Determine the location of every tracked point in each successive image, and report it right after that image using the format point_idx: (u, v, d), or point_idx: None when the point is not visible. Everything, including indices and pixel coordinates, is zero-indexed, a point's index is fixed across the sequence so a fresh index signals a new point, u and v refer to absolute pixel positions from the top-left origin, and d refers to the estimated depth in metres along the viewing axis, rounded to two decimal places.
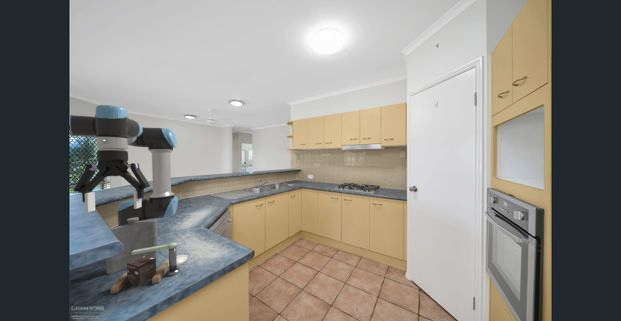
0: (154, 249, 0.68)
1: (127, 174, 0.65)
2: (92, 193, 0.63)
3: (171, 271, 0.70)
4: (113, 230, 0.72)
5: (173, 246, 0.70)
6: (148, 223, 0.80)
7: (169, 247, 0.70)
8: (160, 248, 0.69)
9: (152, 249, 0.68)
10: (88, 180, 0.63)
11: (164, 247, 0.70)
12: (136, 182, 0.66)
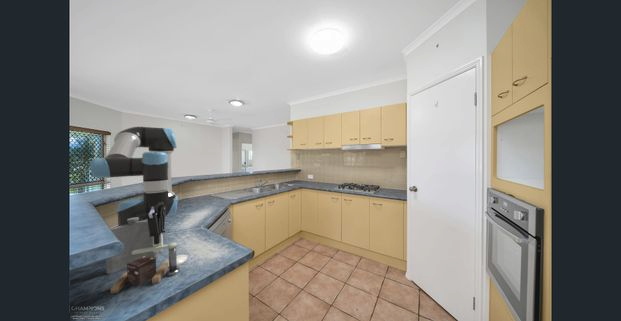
0: (154, 249, 0.68)
1: None
2: None
3: (171, 271, 0.70)
4: (113, 230, 0.72)
5: (173, 246, 0.70)
6: None
7: (169, 247, 0.70)
8: (160, 248, 0.69)
9: (152, 249, 0.68)
10: None
11: (164, 247, 0.70)
12: None
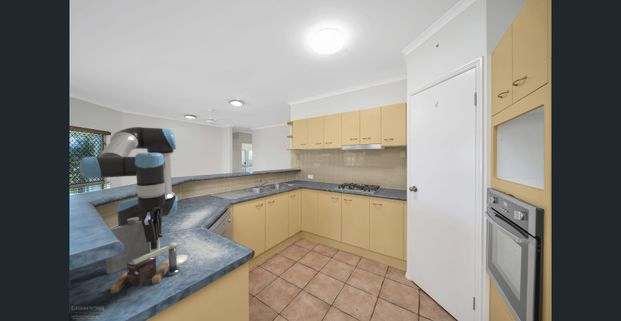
0: (158, 252, 0.66)
1: None
2: (155, 240, 0.67)
3: (171, 271, 0.70)
4: (113, 230, 0.72)
5: (176, 245, 0.71)
6: None
7: (173, 246, 0.70)
8: (163, 250, 0.68)
9: (156, 253, 0.65)
10: (158, 223, 0.70)
11: (167, 248, 0.69)
12: None
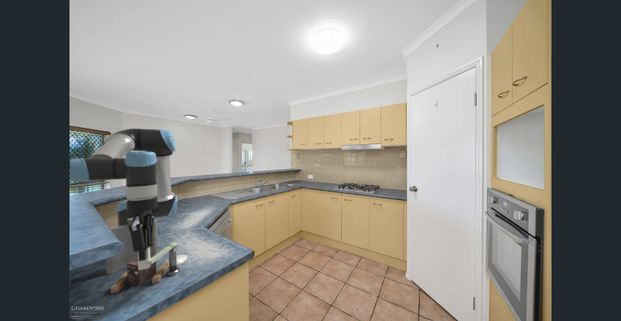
0: (165, 252, 0.66)
1: None
2: None
3: (171, 271, 0.70)
4: (113, 230, 0.72)
5: None
6: None
7: (175, 246, 0.71)
8: (168, 249, 0.68)
9: (164, 252, 0.65)
10: (149, 230, 0.63)
11: (170, 248, 0.69)
12: None
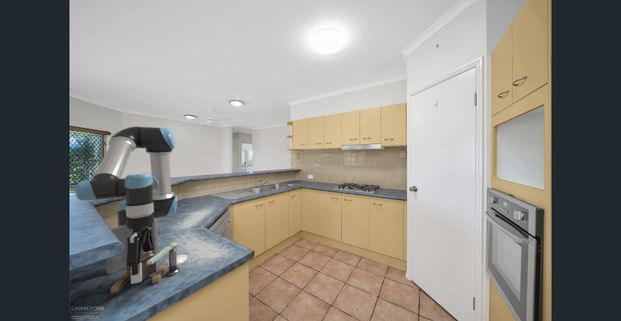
0: (165, 252, 0.66)
1: None
2: None
3: (171, 271, 0.70)
4: (113, 230, 0.72)
5: None
6: None
7: (175, 246, 0.71)
8: (168, 249, 0.68)
9: (164, 252, 0.65)
10: (149, 238, 0.73)
11: (170, 248, 0.69)
12: None
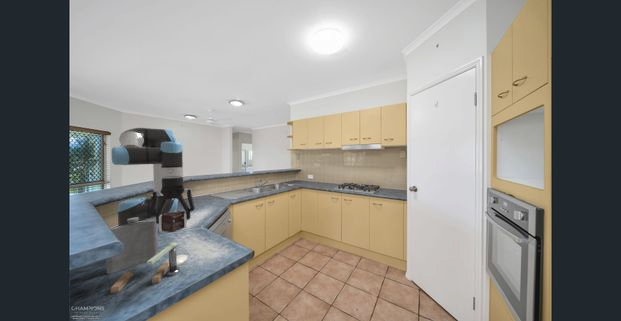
0: (165, 252, 0.66)
1: (182, 198, 0.80)
2: None
3: (171, 271, 0.70)
4: (113, 230, 0.72)
5: None
6: (148, 223, 0.80)
7: (175, 246, 0.71)
8: (168, 249, 0.68)
9: (164, 252, 0.65)
10: (157, 204, 0.77)
11: (170, 248, 0.69)
12: (186, 205, 0.81)
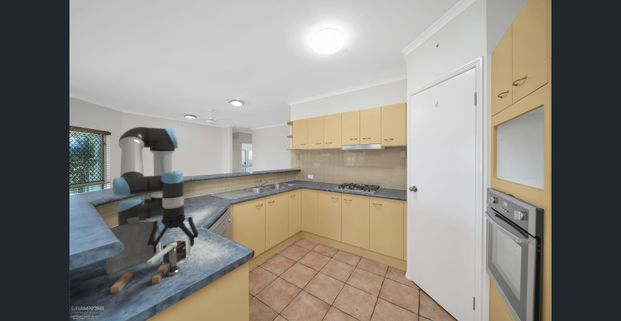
0: (165, 252, 0.66)
1: (184, 226, 0.80)
2: (160, 244, 0.77)
3: (171, 271, 0.70)
4: (113, 230, 0.72)
5: None
6: (148, 223, 0.80)
7: (175, 246, 0.71)
8: (168, 249, 0.68)
9: (164, 252, 0.65)
10: (155, 233, 0.77)
11: (170, 248, 0.69)
12: (190, 232, 0.81)
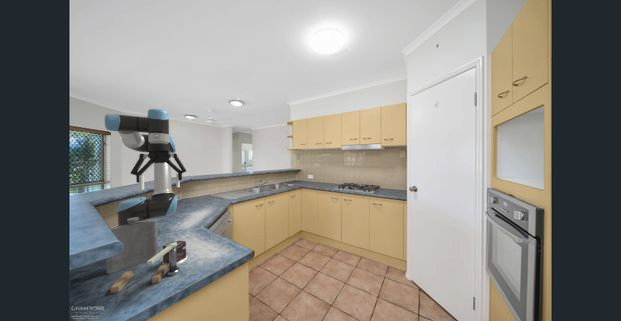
0: (165, 252, 0.66)
1: (170, 161, 0.86)
2: (143, 176, 0.82)
3: (171, 271, 0.70)
4: (113, 230, 0.72)
5: None
6: (148, 223, 0.80)
7: (175, 246, 0.71)
8: (168, 249, 0.68)
9: (164, 252, 0.65)
10: (140, 166, 0.82)
11: (170, 248, 0.69)
12: (177, 168, 0.87)
